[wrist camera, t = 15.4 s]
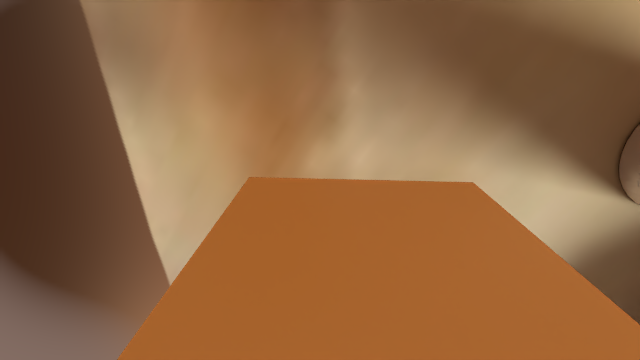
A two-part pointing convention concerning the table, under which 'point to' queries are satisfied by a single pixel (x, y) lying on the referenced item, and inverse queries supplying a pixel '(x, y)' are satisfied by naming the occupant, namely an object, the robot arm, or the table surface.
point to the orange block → (378, 282)
